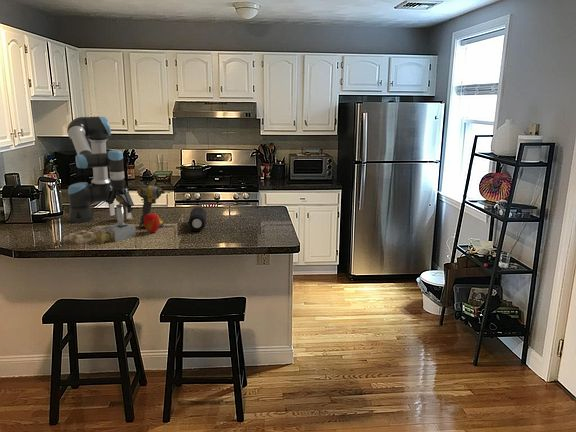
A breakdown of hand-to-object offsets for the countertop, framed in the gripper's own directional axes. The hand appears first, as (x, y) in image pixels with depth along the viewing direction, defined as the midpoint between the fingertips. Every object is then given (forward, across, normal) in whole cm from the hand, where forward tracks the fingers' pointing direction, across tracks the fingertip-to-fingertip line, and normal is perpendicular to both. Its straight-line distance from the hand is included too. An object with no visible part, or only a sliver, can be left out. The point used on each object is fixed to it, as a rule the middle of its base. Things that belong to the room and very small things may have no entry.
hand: (120, 216), depth 266 cm
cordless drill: (+11, +1, +24) cm, 27 cm away
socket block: (+11, 0, -2) cm, 11 cm away
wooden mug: (+11, -27, +24) cm, 38 cm away
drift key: (+11, 0, -10) cm, 15 cm away
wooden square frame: (+11, -12, -17) cm, 24 cm away
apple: (+12, +8, +15) cm, 20 cm away
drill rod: (+11, 0, 0) cm, 11 cm away
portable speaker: (+12, +22, +39) cm, 46 cm away
